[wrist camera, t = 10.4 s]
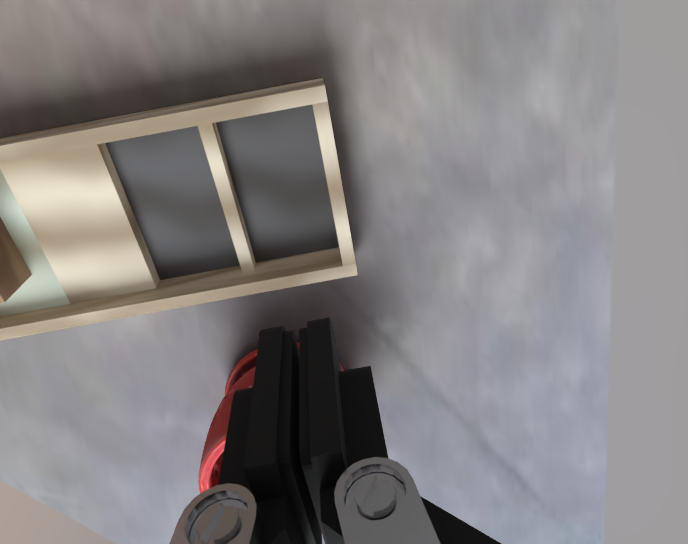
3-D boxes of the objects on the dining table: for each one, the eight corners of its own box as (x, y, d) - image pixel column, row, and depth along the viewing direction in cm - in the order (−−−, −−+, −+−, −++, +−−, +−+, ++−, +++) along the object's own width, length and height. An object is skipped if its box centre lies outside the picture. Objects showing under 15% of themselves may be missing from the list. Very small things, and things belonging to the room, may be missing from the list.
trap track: (-127, 161, 34) (-168, 177, 31) (322, 77, 34) (324, 85, 31) (-22, 323, 41) (-48, 349, 38) (353, 254, 41) (357, 274, 38)
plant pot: (371, 412, 50) (390, 521, 39) (246, 442, 50) (232, 557, 40) (340, 308, 43) (353, 405, 33) (198, 343, 44) (166, 449, 34)
